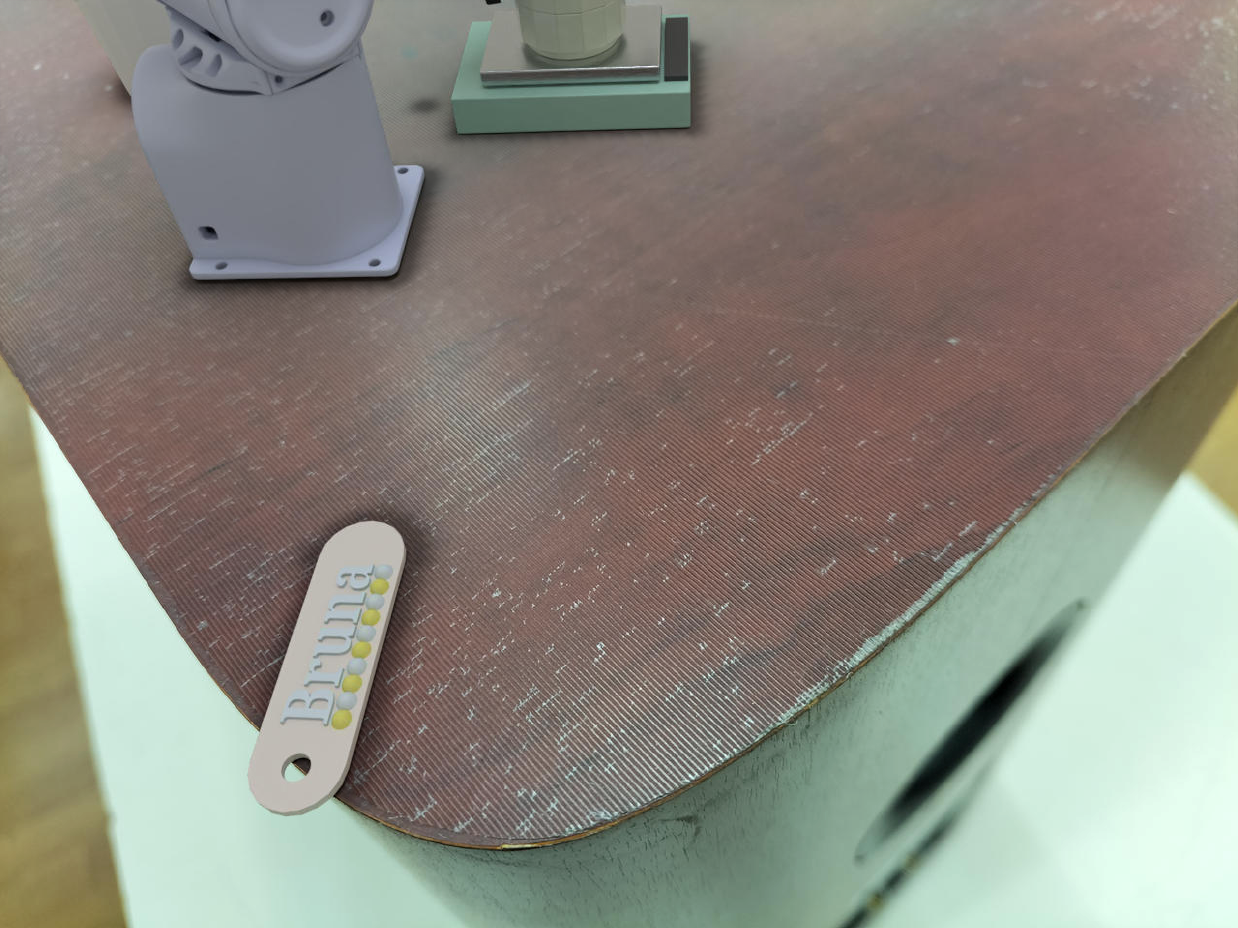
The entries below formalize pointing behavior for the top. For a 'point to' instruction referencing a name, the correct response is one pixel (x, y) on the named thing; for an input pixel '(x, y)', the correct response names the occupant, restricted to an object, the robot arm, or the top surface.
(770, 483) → the top surface
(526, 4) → the green faceted cup
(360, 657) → the keychain
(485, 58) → the pan
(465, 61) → the scale
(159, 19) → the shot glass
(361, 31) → the robot arm
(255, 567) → the top surface
